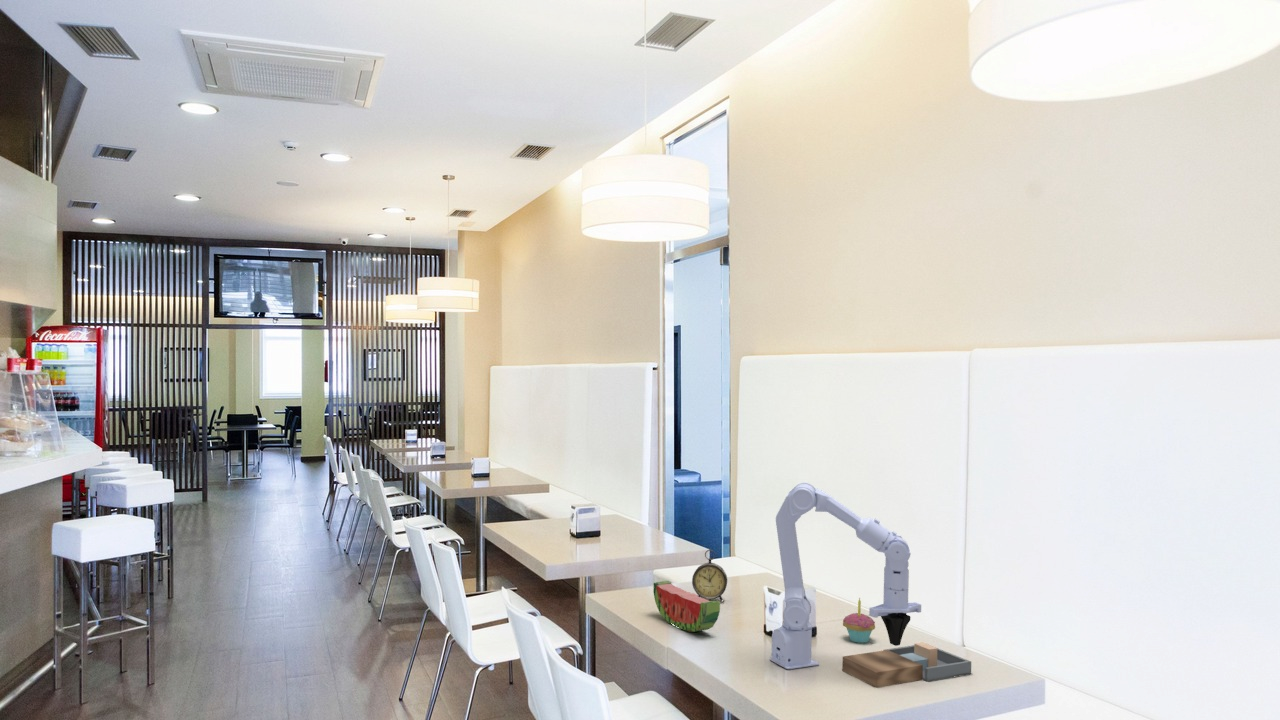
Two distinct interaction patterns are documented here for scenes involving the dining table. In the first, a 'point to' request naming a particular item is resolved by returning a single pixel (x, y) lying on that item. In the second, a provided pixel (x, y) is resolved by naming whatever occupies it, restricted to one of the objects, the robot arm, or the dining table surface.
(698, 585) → the alarm clock
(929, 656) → the tile sand
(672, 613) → the fruit slice
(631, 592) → the dining table surface
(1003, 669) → the dining table surface
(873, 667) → the bench board
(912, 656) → the pale blue block
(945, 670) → the tray
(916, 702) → the dining table surface
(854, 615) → the cupcake
